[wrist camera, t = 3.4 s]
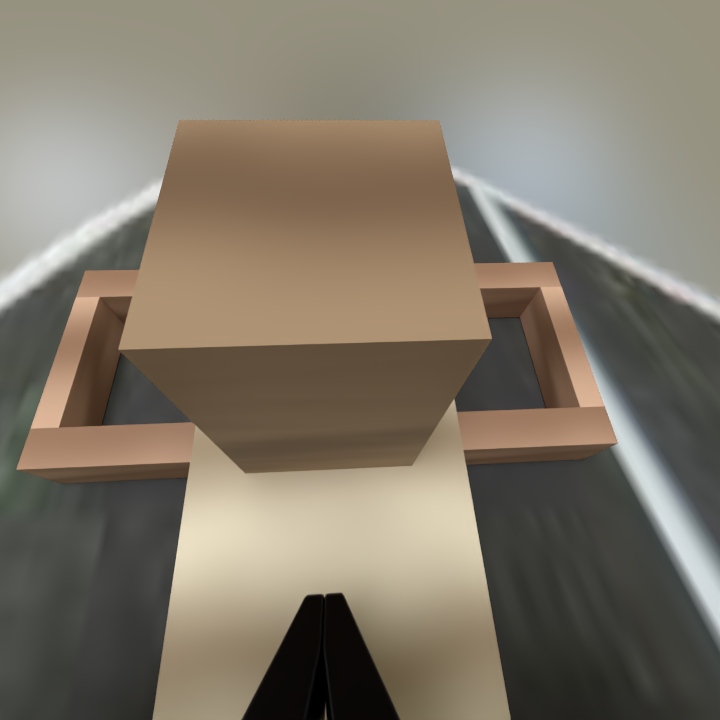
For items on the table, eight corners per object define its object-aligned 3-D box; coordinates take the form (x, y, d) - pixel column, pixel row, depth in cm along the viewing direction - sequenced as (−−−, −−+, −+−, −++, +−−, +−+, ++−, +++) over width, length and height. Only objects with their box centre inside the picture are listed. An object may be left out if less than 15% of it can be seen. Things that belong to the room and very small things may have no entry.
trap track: (668, 730, 13) (733, 762, 11) (-28, 789, 12) (-112, 838, 10) (499, 192, 25) (514, 156, 23) (144, 195, 24) (124, 158, 22)
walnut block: (412, 466, 15) (491, 338, 7) (245, 473, 14) (118, 349, 6) (396, 326, 17) (439, 120, 9) (256, 331, 17) (179, 120, 9)
